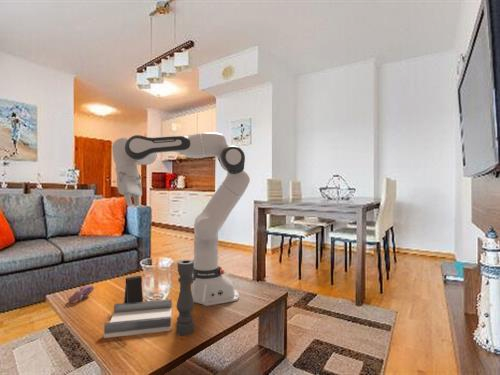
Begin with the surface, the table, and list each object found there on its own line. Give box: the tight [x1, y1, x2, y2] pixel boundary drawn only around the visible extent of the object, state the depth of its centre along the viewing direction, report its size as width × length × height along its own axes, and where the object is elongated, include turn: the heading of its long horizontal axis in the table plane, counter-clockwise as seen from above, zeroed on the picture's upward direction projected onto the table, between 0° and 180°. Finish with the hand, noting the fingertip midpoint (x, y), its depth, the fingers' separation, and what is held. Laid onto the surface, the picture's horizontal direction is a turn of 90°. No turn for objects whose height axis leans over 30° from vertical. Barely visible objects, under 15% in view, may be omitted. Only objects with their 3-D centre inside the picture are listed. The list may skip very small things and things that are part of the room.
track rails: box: [103, 298, 173, 335], centre depth 108 cm, size 22×17×3 cm
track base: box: [103, 308, 173, 339], centre depth 109 cm, size 22×19×1 cm
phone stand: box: [123, 275, 144, 303], centre depth 123 cm, size 9×6×12 cm, turn 34°
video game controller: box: [67, 284, 95, 304], centre depth 128 cm, size 10×5×7 cm, turn 169°
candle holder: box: [175, 259, 195, 337], centre depth 102 cm, size 6×6×25 cm
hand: (133, 205), depth 124 cm, fingers open, 8 cm apart
